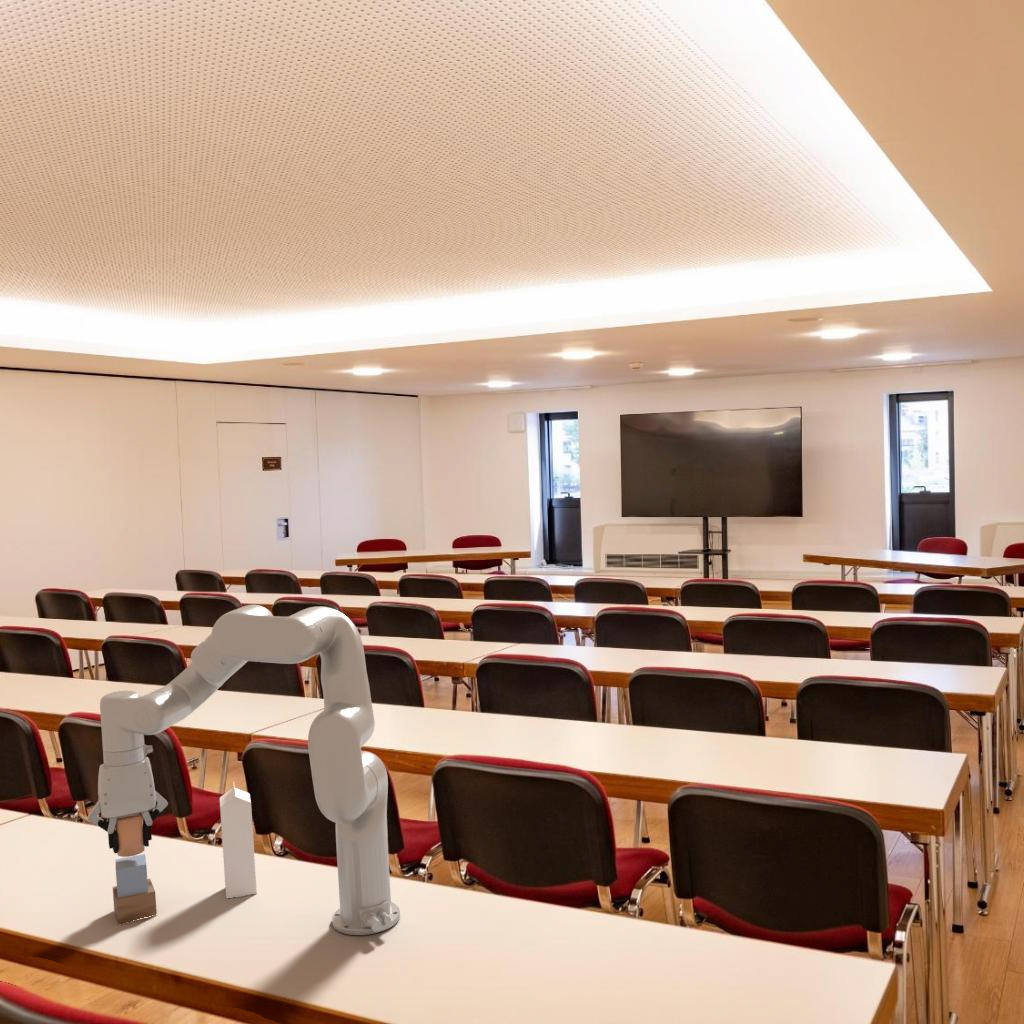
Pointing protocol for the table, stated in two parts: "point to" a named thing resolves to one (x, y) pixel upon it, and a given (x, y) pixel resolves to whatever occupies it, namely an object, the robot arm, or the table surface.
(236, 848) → the milk
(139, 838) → the terracotta capsule
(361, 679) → the robot arm
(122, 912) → the walnut base block
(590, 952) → the table surface
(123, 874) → the slate blue cube
